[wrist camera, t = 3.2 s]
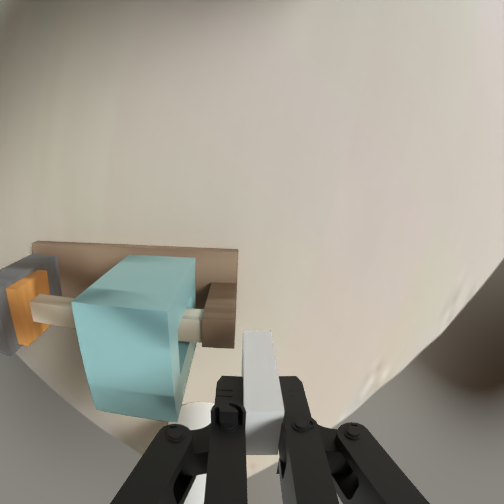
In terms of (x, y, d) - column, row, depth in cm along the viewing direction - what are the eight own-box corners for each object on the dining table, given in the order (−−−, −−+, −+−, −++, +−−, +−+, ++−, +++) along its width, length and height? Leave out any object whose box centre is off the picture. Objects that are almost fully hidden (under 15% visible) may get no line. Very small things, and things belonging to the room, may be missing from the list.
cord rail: (37, 240, 25) (-34, 272, 15) (238, 249, 25) (235, 297, 16) (47, 309, 26) (-11, 359, 17) (235, 328, 27) (232, 403, 17)
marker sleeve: (129, 254, 22) (71, 301, 13) (195, 257, 22) (167, 311, 14) (136, 338, 24) (95, 409, 15) (196, 343, 24) (177, 422, 15)
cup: (194, 389, 29) (169, 530, 13) (259, 424, 30) (269, 555, 15) (156, 428, 30) (124, 547, 15) (216, 458, 32) (209, 572, 16)
